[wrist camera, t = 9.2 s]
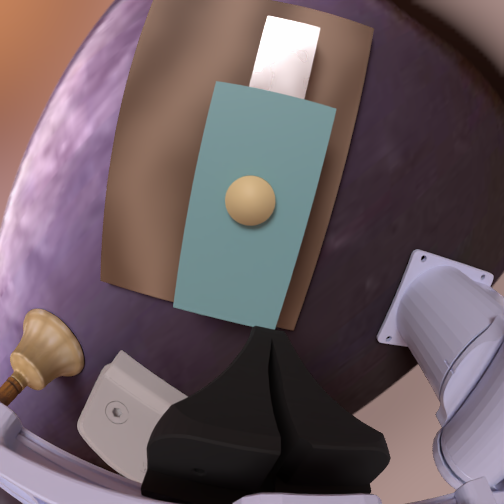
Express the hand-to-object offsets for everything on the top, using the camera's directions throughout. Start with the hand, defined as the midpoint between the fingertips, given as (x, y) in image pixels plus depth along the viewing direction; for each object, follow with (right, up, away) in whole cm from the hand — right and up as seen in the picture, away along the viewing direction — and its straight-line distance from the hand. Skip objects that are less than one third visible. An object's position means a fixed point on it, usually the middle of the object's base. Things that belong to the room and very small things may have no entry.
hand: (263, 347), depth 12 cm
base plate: (-2, +10, +7) cm, 13 cm away
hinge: (-9, -13, +15) cm, 21 cm away
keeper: (-1, +7, +7) cm, 10 cm away
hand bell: (-21, -5, +13) cm, 26 cm away
